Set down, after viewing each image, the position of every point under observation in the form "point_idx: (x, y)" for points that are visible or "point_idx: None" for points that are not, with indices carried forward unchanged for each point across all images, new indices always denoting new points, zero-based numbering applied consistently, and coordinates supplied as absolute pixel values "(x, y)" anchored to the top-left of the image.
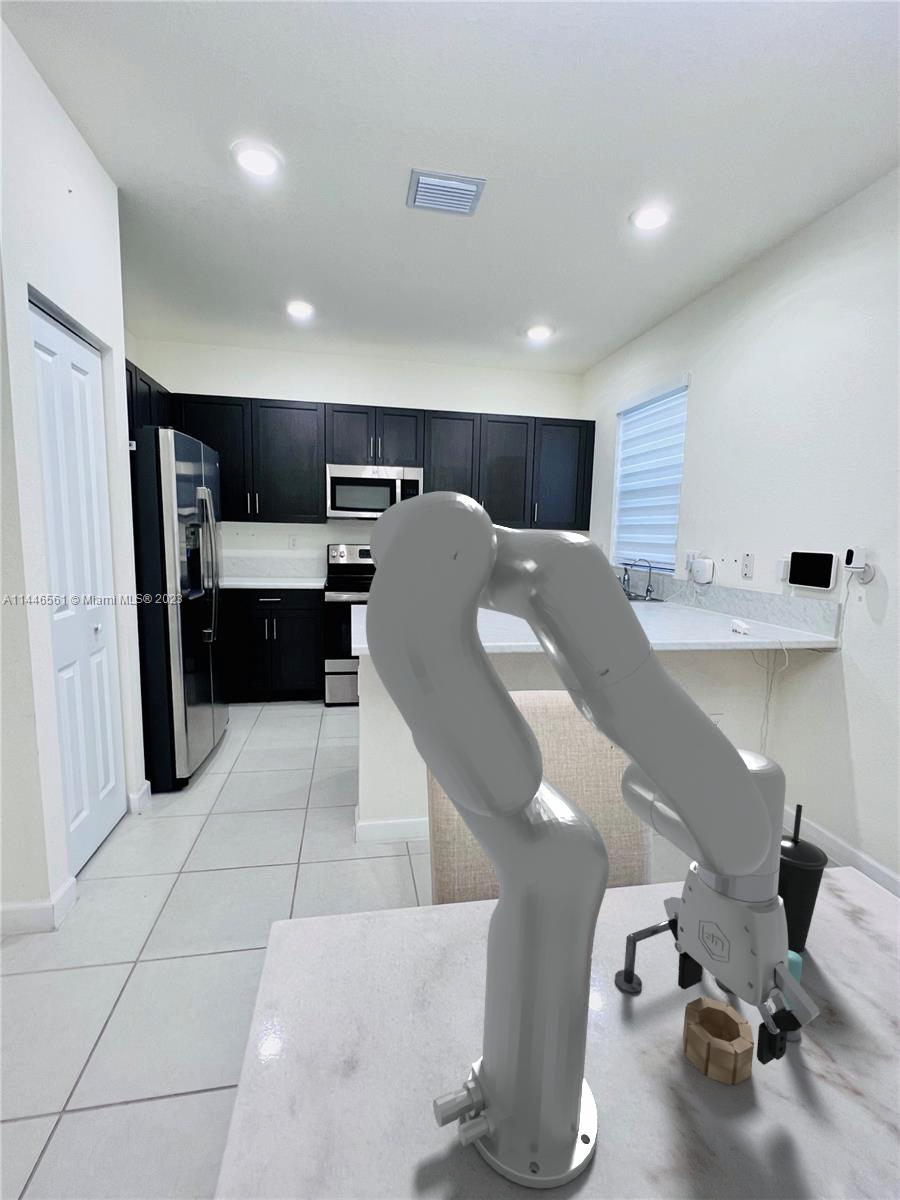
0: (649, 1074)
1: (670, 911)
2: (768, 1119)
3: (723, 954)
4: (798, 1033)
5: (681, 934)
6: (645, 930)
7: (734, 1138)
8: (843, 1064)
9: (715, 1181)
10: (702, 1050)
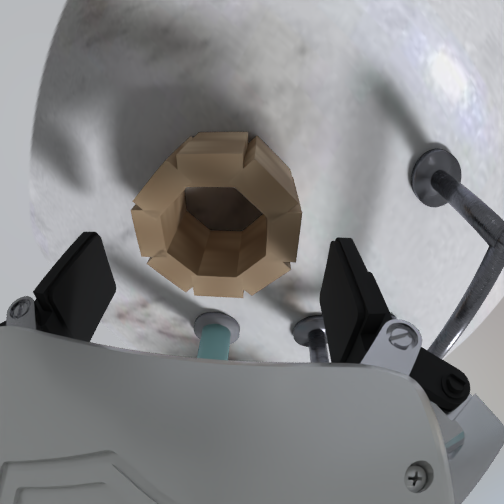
0: (252, 21)
1: (476, 425)
2: (101, 179)
3: (37, 500)
4: (198, 334)
5: (412, 443)
6: (485, 292)
7: (92, 96)
8: (153, 335)
9: (65, 25)
10: (195, 145)
